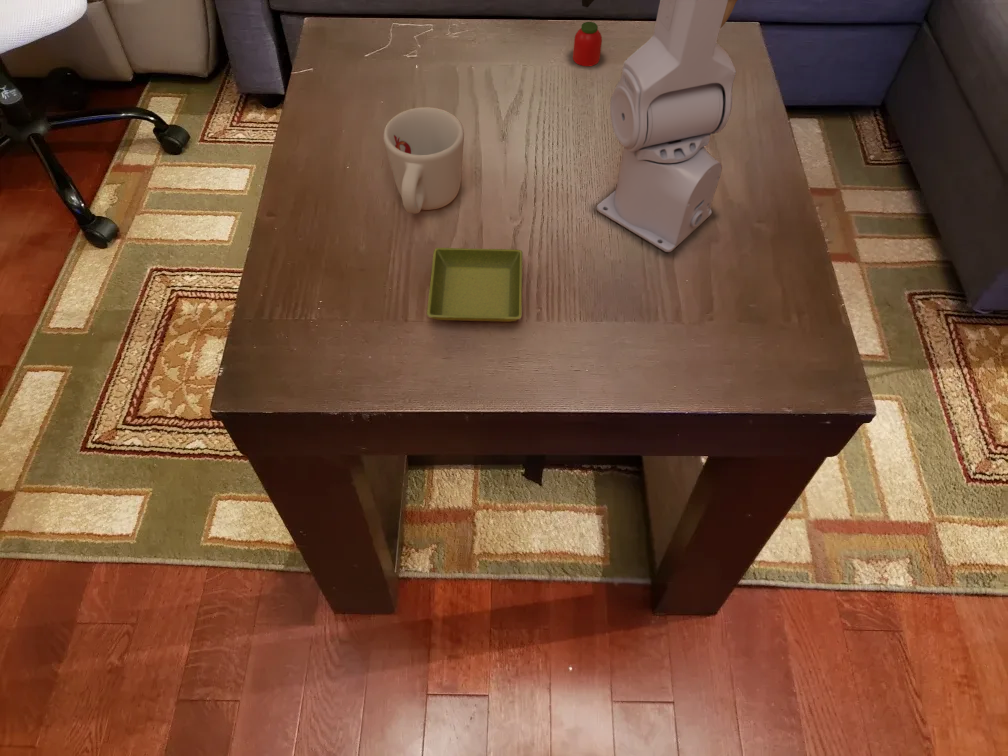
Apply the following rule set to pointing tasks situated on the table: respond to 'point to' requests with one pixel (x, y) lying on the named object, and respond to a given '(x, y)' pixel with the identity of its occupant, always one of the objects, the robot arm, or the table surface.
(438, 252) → the green square tray
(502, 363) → the table surface
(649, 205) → the robot arm
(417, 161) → the cup
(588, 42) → the strawberry
